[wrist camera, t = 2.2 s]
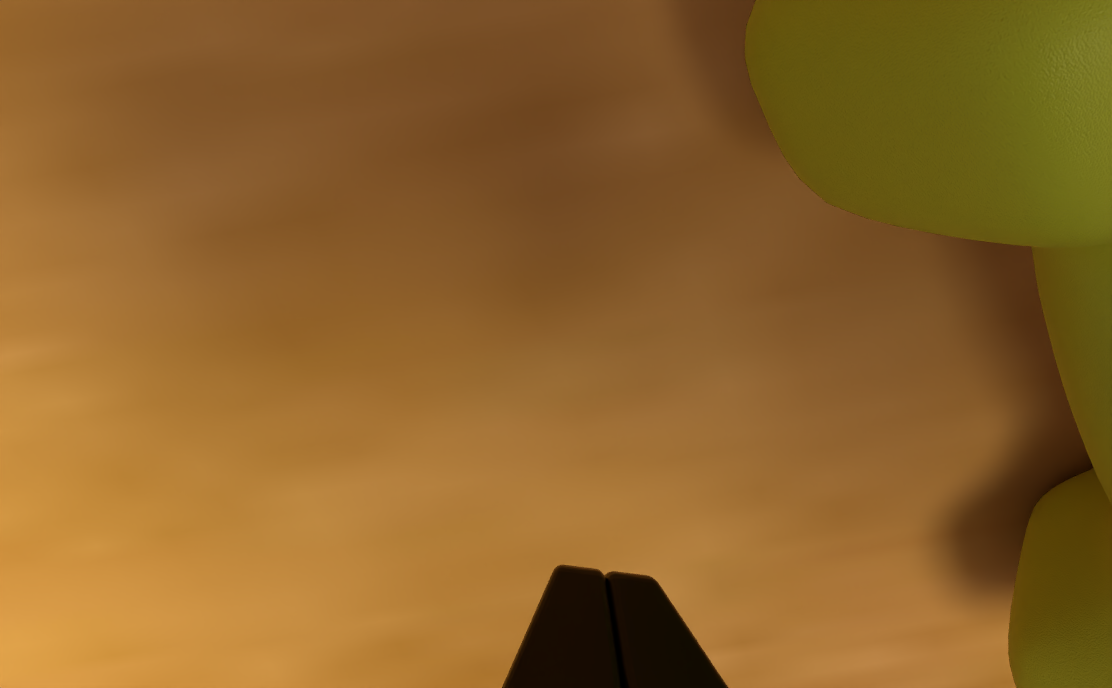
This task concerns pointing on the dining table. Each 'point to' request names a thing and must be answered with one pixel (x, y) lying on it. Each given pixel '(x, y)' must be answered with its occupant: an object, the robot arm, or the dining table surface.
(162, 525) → the dining table surface
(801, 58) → the dumbbell
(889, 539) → the dining table surface
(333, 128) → the dining table surface
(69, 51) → the dining table surface
